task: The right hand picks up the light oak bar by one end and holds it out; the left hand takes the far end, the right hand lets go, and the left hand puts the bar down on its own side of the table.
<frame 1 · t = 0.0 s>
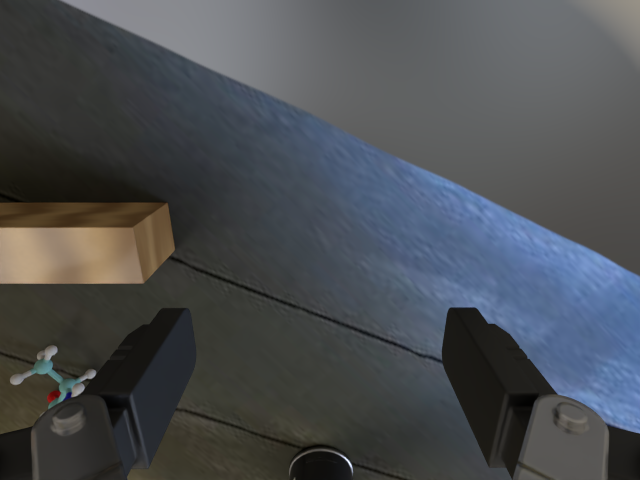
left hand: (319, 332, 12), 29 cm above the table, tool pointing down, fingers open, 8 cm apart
bar: (53, 226, 41), on the table
molecular model: (78, 371, 49), on the table
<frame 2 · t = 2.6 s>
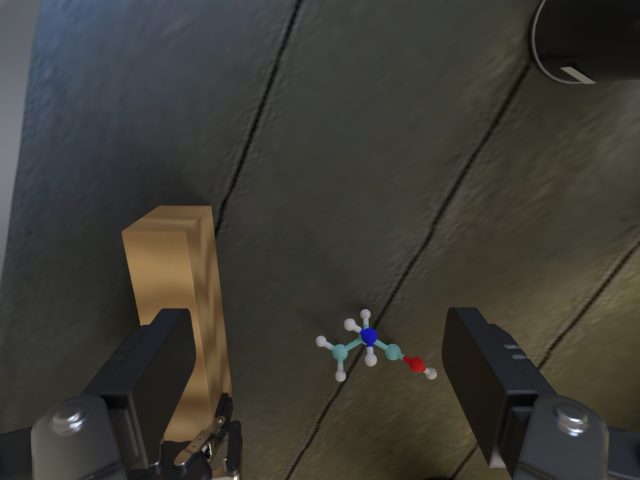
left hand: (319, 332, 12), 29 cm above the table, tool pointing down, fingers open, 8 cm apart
right hand: (200, 398, 45), fingers closed on bar, 5 cm apart
bar: (199, 311, 45), on the table, touching right hand
molecular model: (366, 325, 45), on the table
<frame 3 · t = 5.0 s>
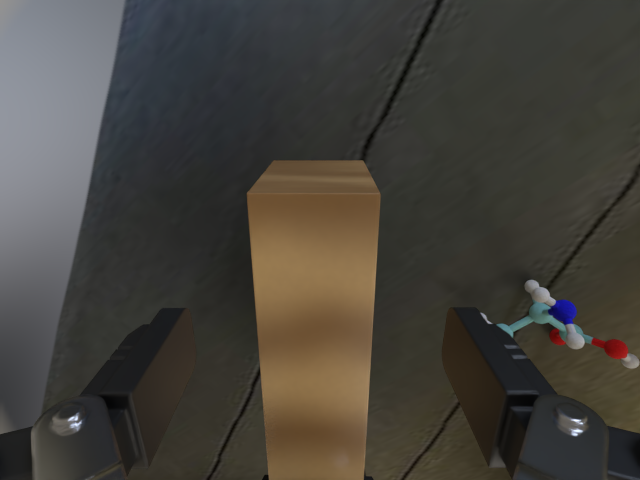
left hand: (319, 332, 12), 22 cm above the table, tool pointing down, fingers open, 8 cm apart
bar: (319, 337, 28), point 8 cm above the table, touching right hand
molecular model: (526, 301, 36), on the table
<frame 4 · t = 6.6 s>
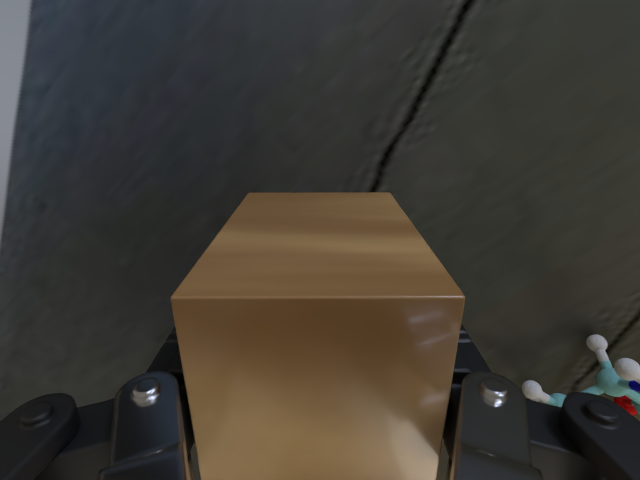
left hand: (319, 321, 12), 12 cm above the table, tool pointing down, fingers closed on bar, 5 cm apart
bar: (319, 439, 19), point 8 cm above the table, touching left hand, right hand
molecular model: (585, 359, 28), on the table
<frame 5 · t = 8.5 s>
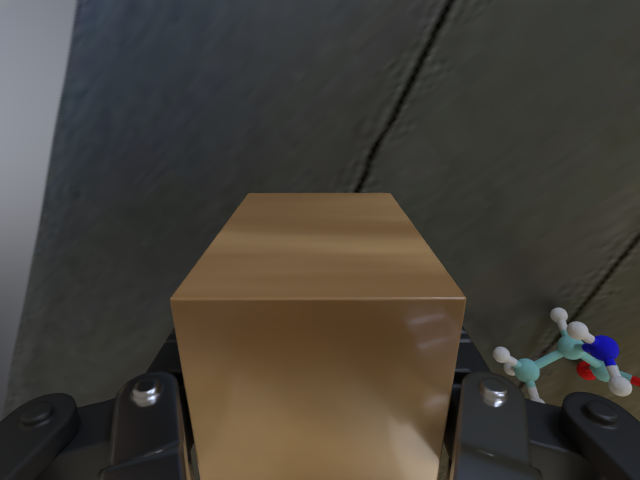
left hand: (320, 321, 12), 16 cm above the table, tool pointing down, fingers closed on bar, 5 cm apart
bar: (319, 440, 19), point 12 cm above the table, touching left hand
molecular model: (550, 331, 32), on the table
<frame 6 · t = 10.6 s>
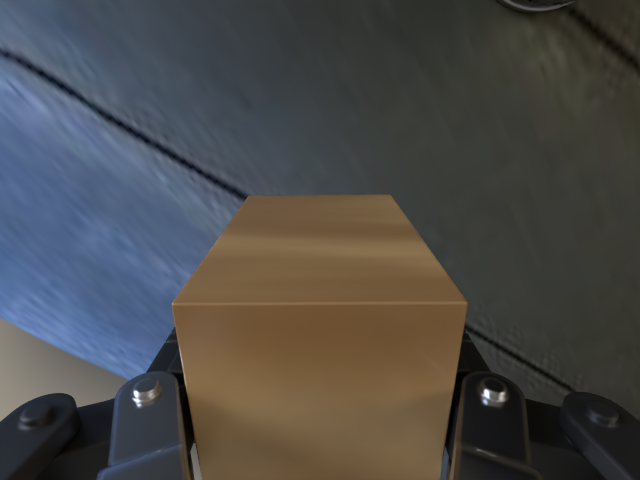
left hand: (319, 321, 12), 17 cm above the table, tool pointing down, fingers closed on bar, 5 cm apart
bar: (321, 441, 19), point 13 cm above the table, touching left hand
when the left hand's fingers open (5 cm above the table, at t = 14.7 s): bar drops 1 cm, on the table.
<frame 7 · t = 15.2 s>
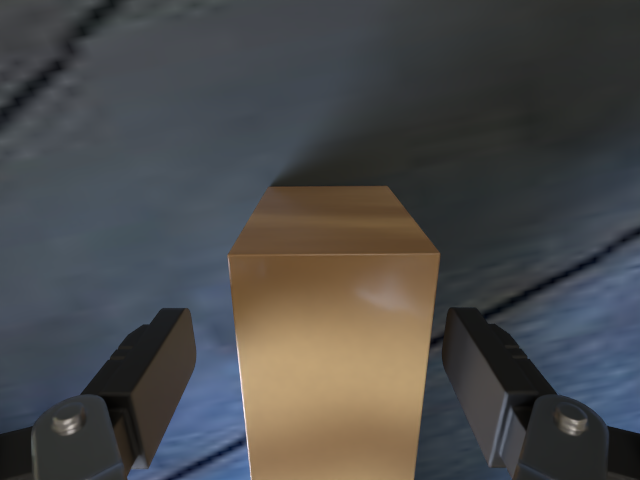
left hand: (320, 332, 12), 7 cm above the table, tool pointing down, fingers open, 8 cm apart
bar: (327, 405, 22), on the table
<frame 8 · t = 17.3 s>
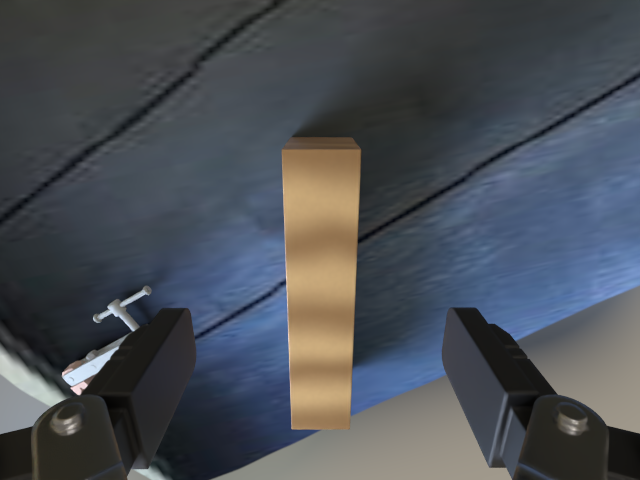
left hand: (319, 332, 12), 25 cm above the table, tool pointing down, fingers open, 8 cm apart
bar: (320, 268, 38), on the table
clamp: (127, 342, 42), on the table
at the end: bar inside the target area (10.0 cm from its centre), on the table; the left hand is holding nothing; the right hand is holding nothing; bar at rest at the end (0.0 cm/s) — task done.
